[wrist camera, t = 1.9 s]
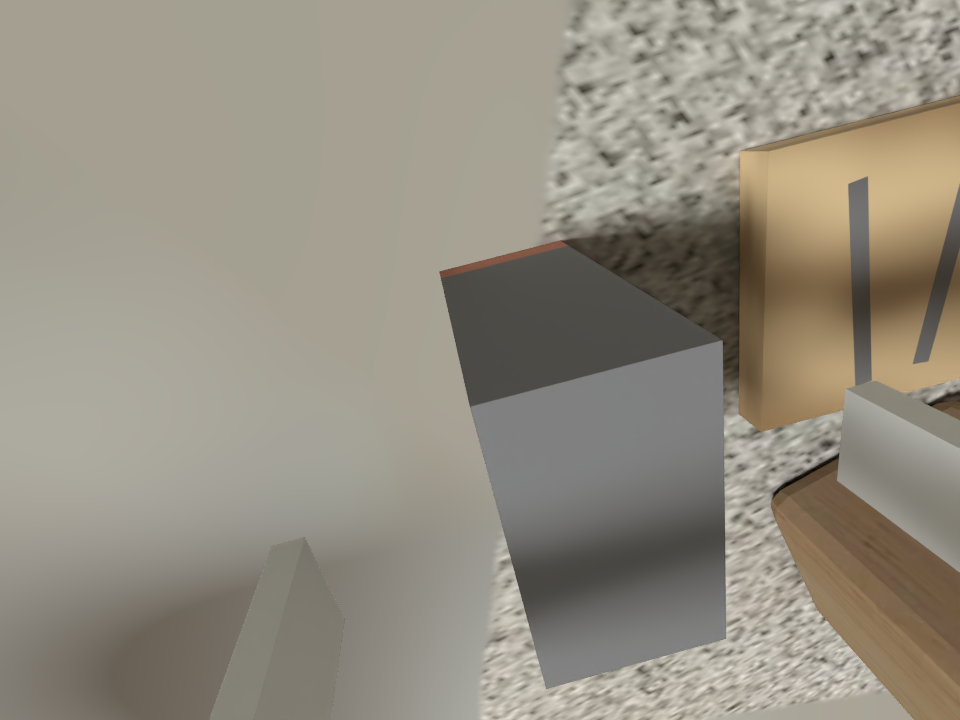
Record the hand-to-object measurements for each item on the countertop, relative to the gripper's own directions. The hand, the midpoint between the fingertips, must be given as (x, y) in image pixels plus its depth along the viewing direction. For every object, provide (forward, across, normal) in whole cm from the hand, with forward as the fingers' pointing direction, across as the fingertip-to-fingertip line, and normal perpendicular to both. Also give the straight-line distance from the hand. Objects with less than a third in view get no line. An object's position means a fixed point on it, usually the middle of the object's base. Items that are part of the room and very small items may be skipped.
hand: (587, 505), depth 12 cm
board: (+8, +16, 0) cm, 18 cm away
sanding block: (+8, 0, +1) cm, 8 cm away
